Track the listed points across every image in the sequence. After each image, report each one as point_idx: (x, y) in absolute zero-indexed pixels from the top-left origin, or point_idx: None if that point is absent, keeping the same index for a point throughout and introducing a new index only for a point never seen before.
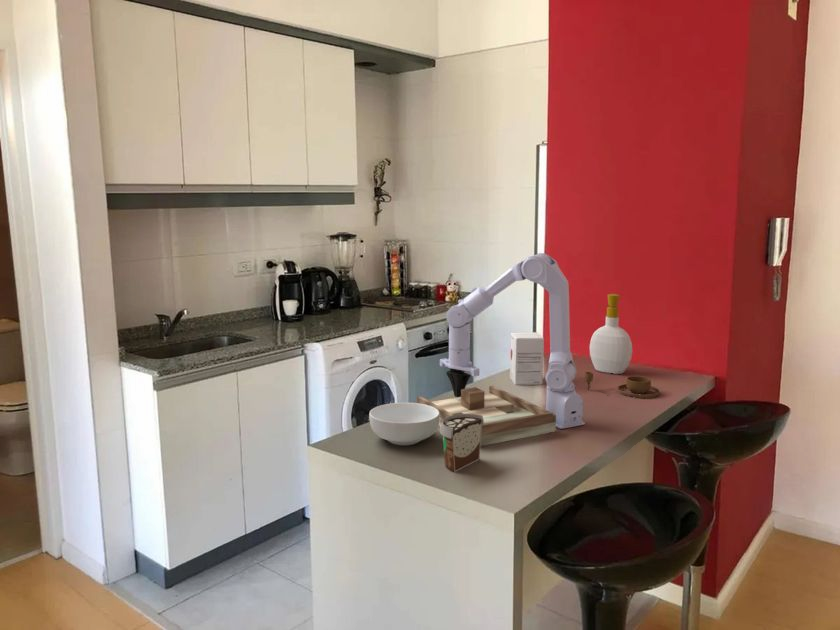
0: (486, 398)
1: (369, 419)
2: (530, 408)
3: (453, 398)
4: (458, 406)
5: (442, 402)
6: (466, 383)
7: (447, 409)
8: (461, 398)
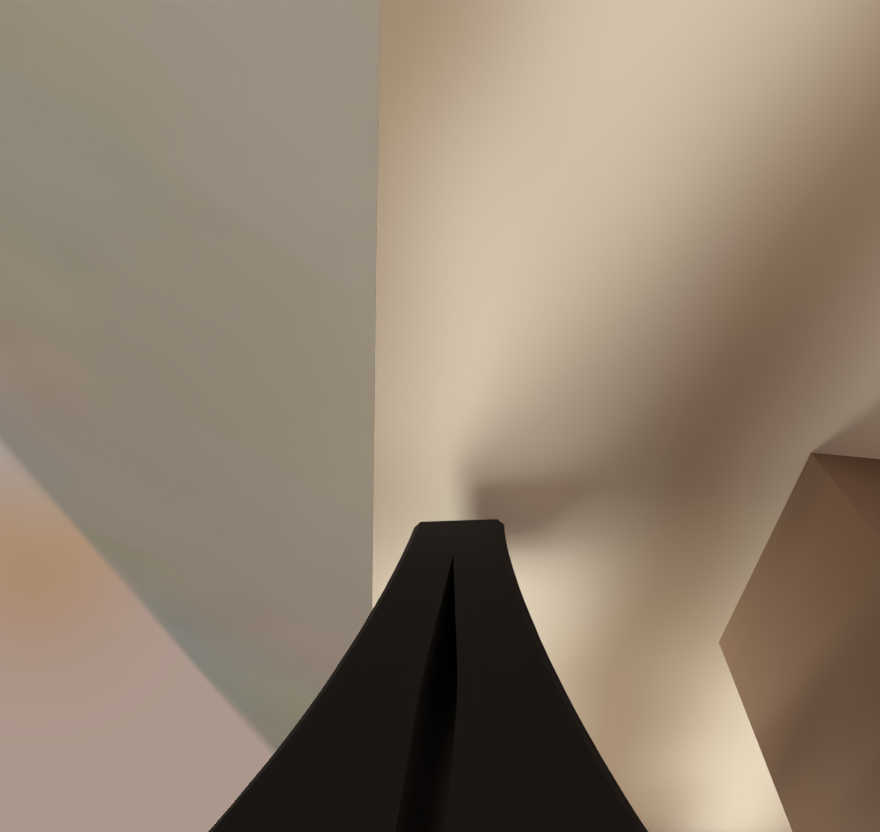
0: (771, 53)
1: None
2: None
3: (387, 557)
4: (722, 676)
5: None
6: (584, 736)
7: (711, 783)
8: (770, 746)
